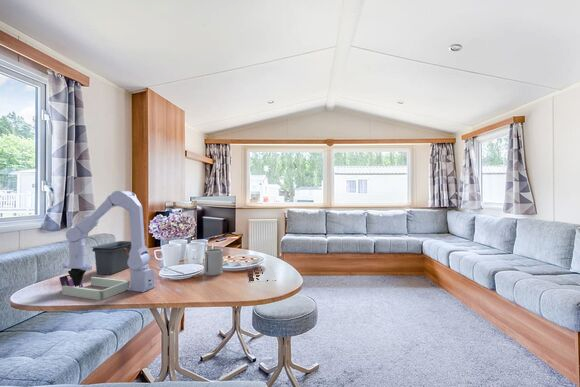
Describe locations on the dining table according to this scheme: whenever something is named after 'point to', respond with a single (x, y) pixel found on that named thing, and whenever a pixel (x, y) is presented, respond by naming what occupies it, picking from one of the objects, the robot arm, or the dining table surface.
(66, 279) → the game card
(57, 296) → the dining table surface
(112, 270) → the storage bin
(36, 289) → the dining table surface
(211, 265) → the cup
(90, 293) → the open box
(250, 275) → the chocolate bar
